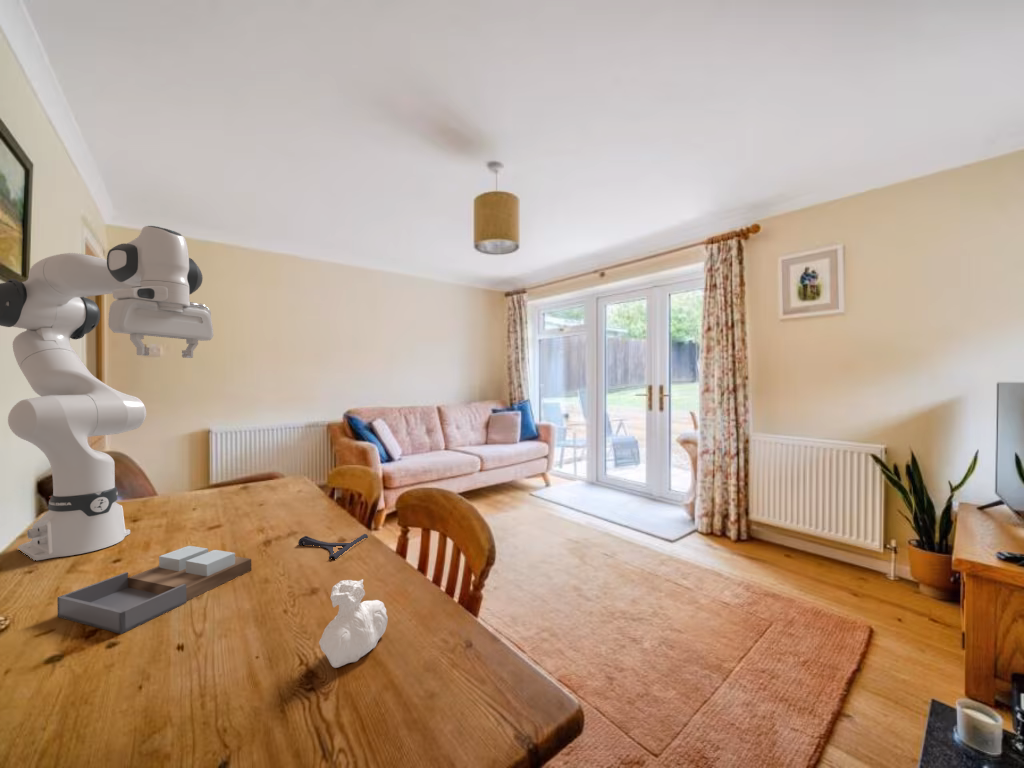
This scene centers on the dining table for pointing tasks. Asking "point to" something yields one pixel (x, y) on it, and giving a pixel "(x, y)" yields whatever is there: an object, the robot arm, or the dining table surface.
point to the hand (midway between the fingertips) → (166, 356)
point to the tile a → (180, 557)
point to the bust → (352, 624)
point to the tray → (117, 604)
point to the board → (186, 579)
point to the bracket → (330, 545)
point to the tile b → (210, 562)
